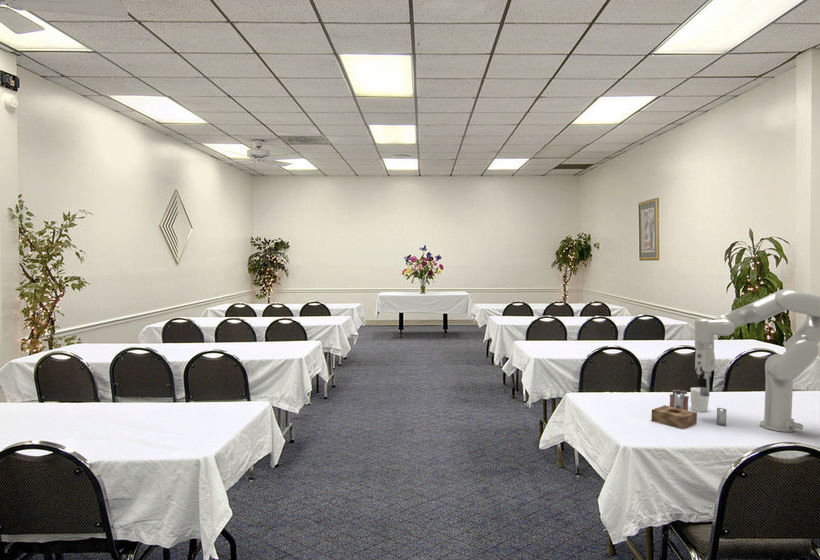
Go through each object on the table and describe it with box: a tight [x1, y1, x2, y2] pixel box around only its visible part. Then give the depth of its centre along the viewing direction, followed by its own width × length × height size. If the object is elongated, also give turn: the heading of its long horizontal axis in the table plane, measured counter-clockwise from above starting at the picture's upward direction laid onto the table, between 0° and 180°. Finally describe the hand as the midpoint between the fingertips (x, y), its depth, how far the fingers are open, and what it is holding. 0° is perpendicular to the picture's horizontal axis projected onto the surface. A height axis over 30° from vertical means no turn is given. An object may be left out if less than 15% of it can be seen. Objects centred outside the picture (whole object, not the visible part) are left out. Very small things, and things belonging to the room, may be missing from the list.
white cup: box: [690, 387, 710, 413], centre depth 248 cm, size 8×8×10 cm
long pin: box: [699, 370, 710, 397], centre depth 233 cm, size 4×4×14 cm
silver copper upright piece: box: [669, 389, 690, 411], centre depth 246 cm, size 8×3×10 cm, turn 62°
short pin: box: [716, 407, 727, 427], centre depth 226 cm, size 4×4×7 cm
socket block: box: [650, 404, 698, 430], centre depth 229 cm, size 14×12×5 cm
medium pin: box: [674, 393, 683, 409], centre depth 237 cm, size 4×4×10 cm
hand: (704, 385), depth 233 cm, fingers closed on long pin, 3 cm apart
